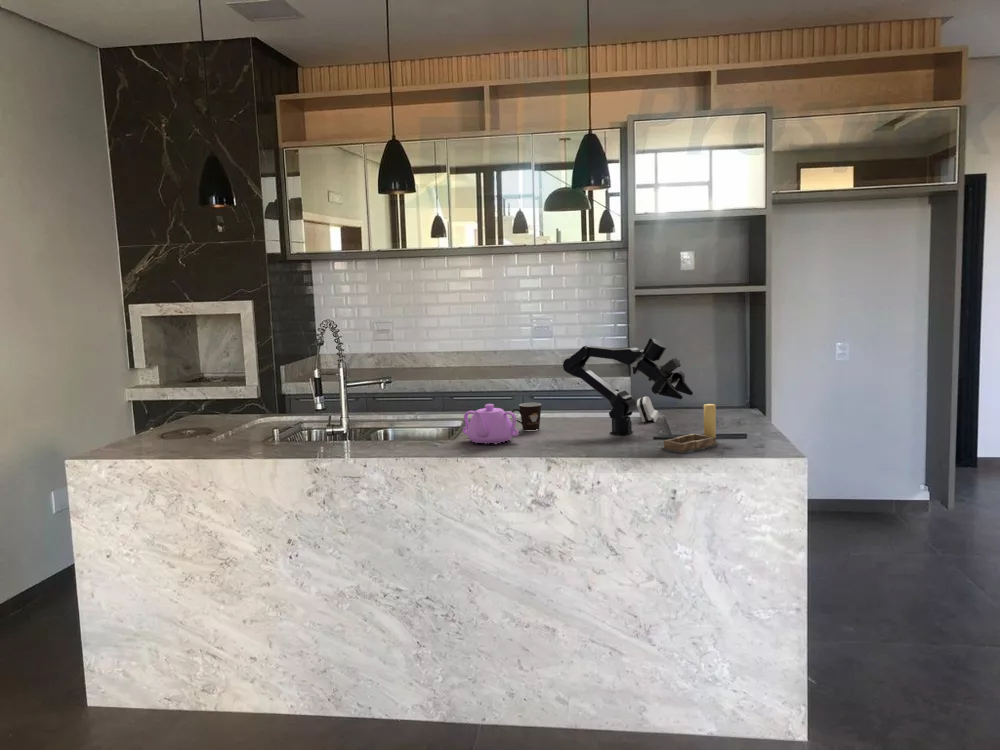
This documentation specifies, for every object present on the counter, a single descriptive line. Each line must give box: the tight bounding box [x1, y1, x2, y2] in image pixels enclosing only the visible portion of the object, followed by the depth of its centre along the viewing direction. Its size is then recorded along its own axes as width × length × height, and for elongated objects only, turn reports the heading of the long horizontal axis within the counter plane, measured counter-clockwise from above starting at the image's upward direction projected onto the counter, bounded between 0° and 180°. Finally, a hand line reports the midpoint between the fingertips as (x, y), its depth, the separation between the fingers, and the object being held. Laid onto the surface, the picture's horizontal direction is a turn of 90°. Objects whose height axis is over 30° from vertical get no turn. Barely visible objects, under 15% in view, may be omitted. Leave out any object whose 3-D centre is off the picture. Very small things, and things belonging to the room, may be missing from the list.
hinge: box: [636, 396, 659, 423], centre depth 317 cm, size 17×5×10 cm, turn 163°
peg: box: [703, 403, 717, 438], centre depth 271 cm, size 4×4×13 cm
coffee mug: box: [511, 402, 542, 430], centre depth 303 cm, size 12×9×10 cm
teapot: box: [462, 403, 520, 445], centre depth 283 cm, size 22×22×14 cm
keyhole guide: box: [660, 433, 718, 455], centre depth 264 cm, size 16×10×3 cm, turn 124°
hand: (687, 396), depth 274 cm, fingers open, 9 cm apart
